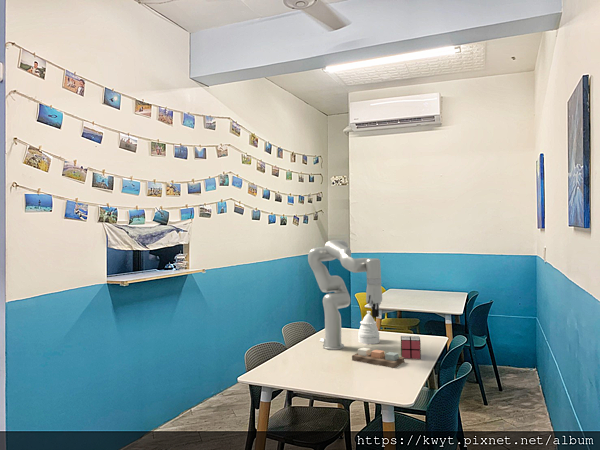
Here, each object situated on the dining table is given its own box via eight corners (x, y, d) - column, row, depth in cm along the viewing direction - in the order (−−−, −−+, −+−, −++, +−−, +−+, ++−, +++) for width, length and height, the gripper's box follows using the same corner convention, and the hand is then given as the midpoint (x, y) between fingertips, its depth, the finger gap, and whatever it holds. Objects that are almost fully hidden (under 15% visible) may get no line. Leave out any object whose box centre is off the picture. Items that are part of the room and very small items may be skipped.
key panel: (352, 360, 240) (351, 355, 240) (363, 355, 249) (363, 350, 249) (393, 368, 225) (393, 363, 225) (404, 362, 235) (404, 357, 235)
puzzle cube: (420, 359, 239) (420, 340, 240) (401, 358, 241) (400, 339, 242) (419, 354, 249) (419, 336, 249) (401, 353, 251) (400, 335, 251)
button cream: (357, 355, 242) (357, 349, 242) (362, 353, 246) (362, 347, 246) (366, 356, 239) (366, 350, 239) (370, 354, 243) (370, 348, 243)
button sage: (385, 359, 232) (385, 353, 232) (389, 357, 236) (389, 351, 236) (394, 361, 229) (394, 355, 229) (398, 359, 233) (398, 353, 233)
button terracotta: (371, 357, 237) (371, 351, 237) (375, 355, 241) (375, 349, 241) (379, 358, 234) (379, 353, 234) (384, 356, 238) (384, 350, 238)
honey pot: (360, 338, 288) (360, 309, 289) (381, 339, 284) (380, 310, 284) (356, 343, 276) (355, 313, 277) (377, 344, 272) (376, 314, 272)
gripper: (374, 280, 251) (375, 314, 250) (360, 283, 239) (362, 318, 238) (386, 280, 246) (388, 315, 245) (373, 283, 234) (375, 319, 233)
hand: (375, 316), depth 242 cm, fingers closed
